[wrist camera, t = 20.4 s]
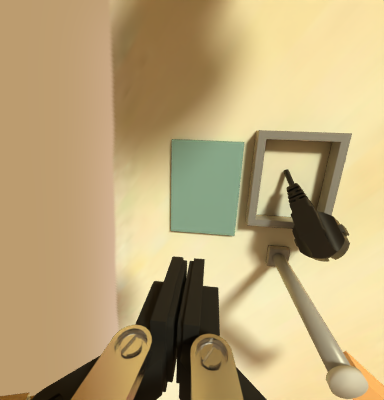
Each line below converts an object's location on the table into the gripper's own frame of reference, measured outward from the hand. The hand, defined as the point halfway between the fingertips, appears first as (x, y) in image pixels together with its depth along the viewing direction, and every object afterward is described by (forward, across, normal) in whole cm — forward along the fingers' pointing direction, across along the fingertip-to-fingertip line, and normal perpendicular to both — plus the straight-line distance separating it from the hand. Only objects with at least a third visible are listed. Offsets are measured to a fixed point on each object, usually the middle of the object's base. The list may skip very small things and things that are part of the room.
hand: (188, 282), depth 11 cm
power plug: (+23, -13, -2) cm, 26 cm away
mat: (+21, 0, 0) cm, 21 cm away
